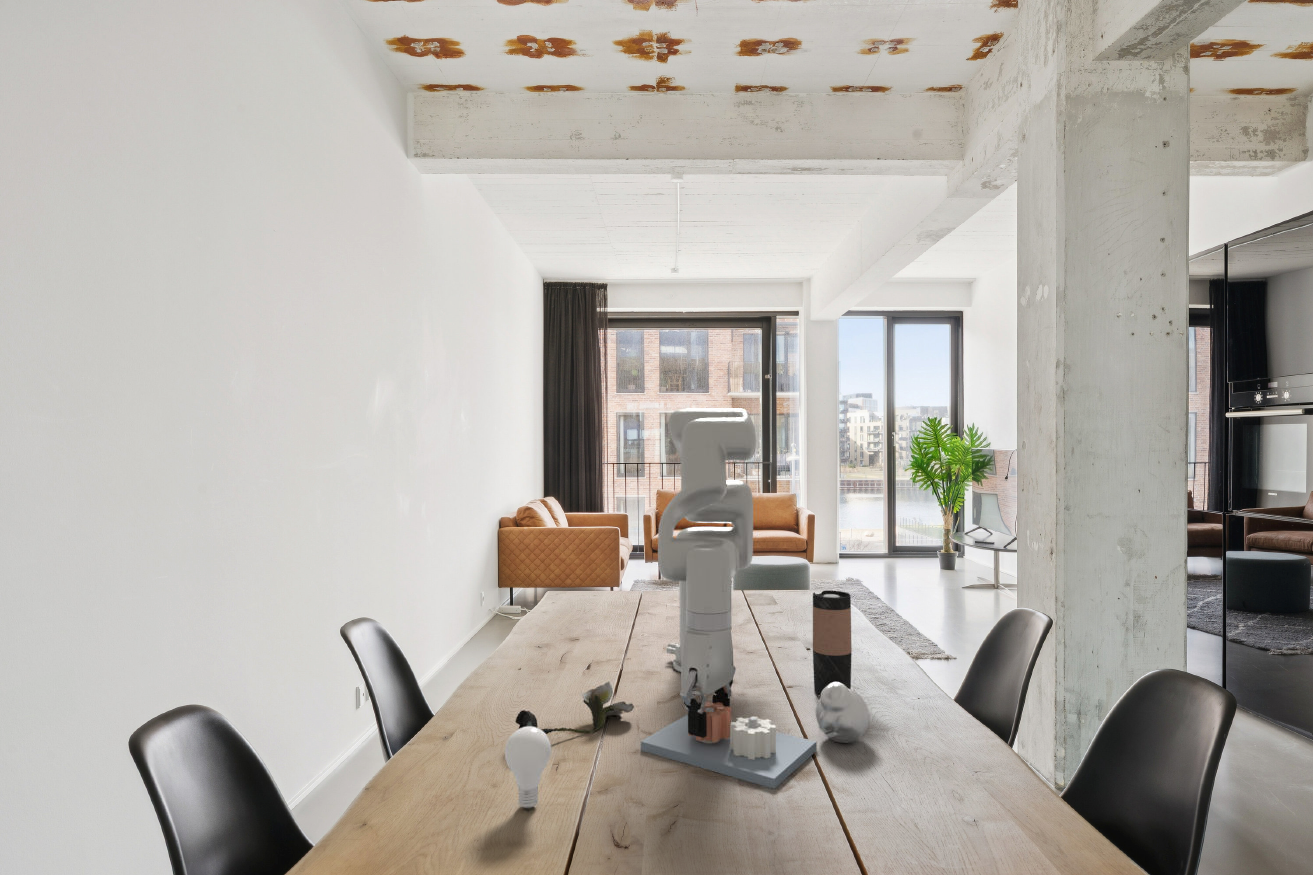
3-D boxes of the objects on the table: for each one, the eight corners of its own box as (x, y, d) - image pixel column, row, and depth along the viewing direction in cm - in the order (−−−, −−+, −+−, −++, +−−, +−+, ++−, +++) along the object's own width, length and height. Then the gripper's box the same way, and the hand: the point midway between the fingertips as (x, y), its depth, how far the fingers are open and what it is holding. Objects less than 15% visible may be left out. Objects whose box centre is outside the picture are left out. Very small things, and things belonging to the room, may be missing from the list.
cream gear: (728, 757, 113) (728, 731, 113) (733, 739, 120) (733, 714, 120) (774, 761, 111) (774, 735, 111) (776, 742, 118) (776, 718, 118)
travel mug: (853, 700, 142) (852, 598, 142) (813, 698, 143) (812, 597, 144) (850, 687, 149) (849, 590, 150) (812, 685, 151) (812, 589, 151)
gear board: (640, 750, 119) (640, 710, 119) (692, 719, 132) (691, 684, 133) (774, 788, 106) (774, 744, 106) (816, 750, 119) (816, 710, 119)
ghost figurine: (802, 735, 125) (802, 677, 125) (848, 727, 129) (847, 670, 129) (834, 756, 117) (833, 693, 117) (881, 746, 120) (881, 686, 120)
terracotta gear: (680, 735, 119) (680, 711, 119) (702, 721, 125) (702, 698, 125) (717, 745, 115) (717, 720, 115) (738, 730, 121) (738, 706, 121)
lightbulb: (507, 797, 104) (507, 720, 104) (552, 795, 104) (552, 718, 104) (502, 820, 97) (501, 737, 97) (549, 817, 98) (549, 735, 98)
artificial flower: (505, 751, 123) (505, 689, 126) (617, 736, 136) (614, 680, 139) (529, 754, 116) (528, 688, 119) (644, 737, 129) (641, 678, 132)
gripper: (715, 607, 129) (716, 707, 129) (660, 628, 115) (661, 740, 115) (753, 612, 125) (753, 715, 125) (701, 634, 111) (702, 751, 111)
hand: (709, 726), depth 120 cm, fingers closed on terracotta gear, 7 cm apart
